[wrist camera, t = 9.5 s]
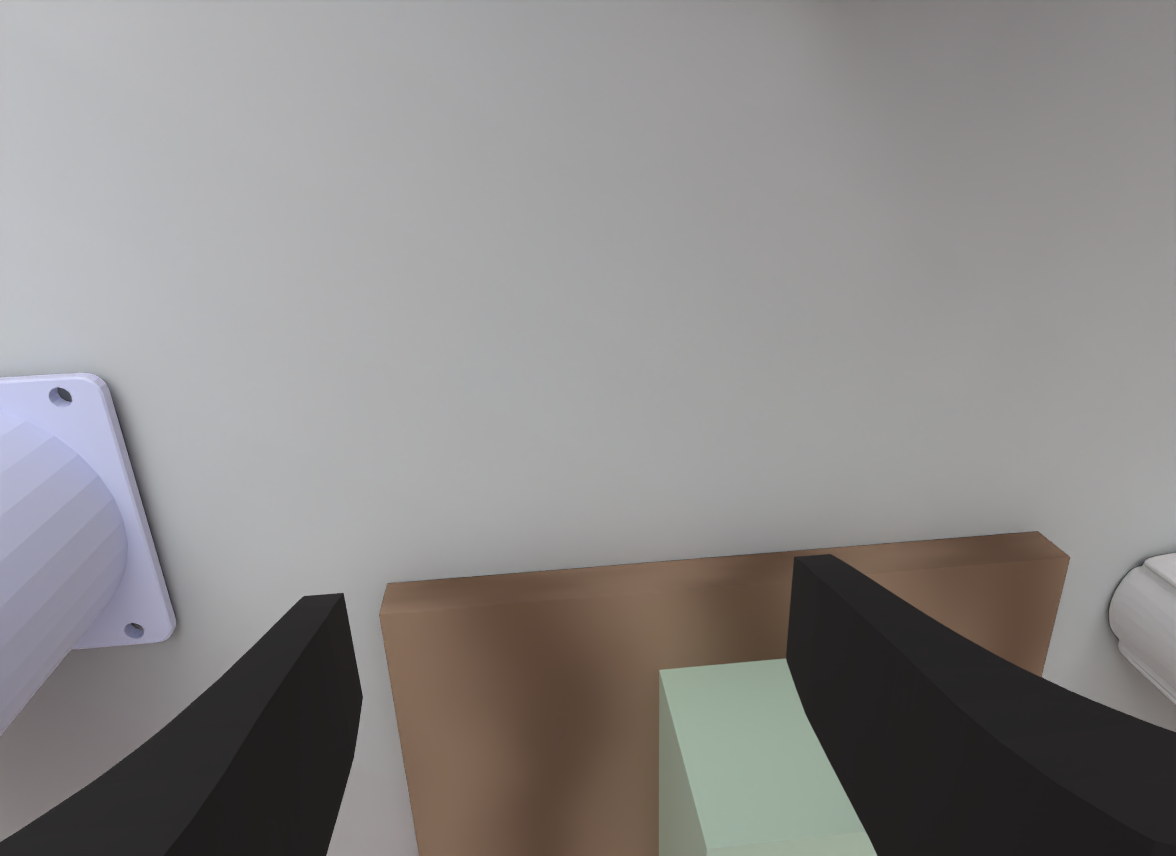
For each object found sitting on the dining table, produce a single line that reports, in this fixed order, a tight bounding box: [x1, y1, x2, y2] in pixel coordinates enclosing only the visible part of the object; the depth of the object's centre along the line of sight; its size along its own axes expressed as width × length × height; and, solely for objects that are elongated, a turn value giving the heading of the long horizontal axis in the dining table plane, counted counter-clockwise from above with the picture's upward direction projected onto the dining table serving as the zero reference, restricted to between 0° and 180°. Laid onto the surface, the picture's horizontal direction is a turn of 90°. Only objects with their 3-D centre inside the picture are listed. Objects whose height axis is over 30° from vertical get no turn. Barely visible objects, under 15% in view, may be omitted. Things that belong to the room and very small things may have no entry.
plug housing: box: [659, 658, 877, 856], centre depth 22 cm, size 4×8×6 cm, turn 2°
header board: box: [379, 532, 1070, 856], centre depth 24 cm, size 20×14×4 cm
